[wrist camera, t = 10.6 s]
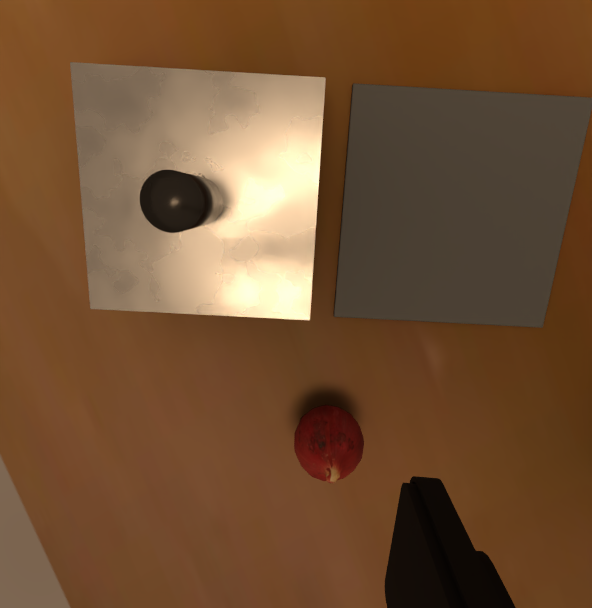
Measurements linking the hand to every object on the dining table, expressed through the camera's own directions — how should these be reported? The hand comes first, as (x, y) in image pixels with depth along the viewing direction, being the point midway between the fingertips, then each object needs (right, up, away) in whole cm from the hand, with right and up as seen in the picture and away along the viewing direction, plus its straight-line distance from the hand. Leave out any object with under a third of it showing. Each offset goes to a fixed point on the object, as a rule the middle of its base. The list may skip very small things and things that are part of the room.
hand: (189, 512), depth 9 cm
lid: (-4, +11, +17) cm, 21 cm away
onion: (+5, -6, +28) cm, 29 cm away
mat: (+15, +12, +23) cm, 30 cm away
